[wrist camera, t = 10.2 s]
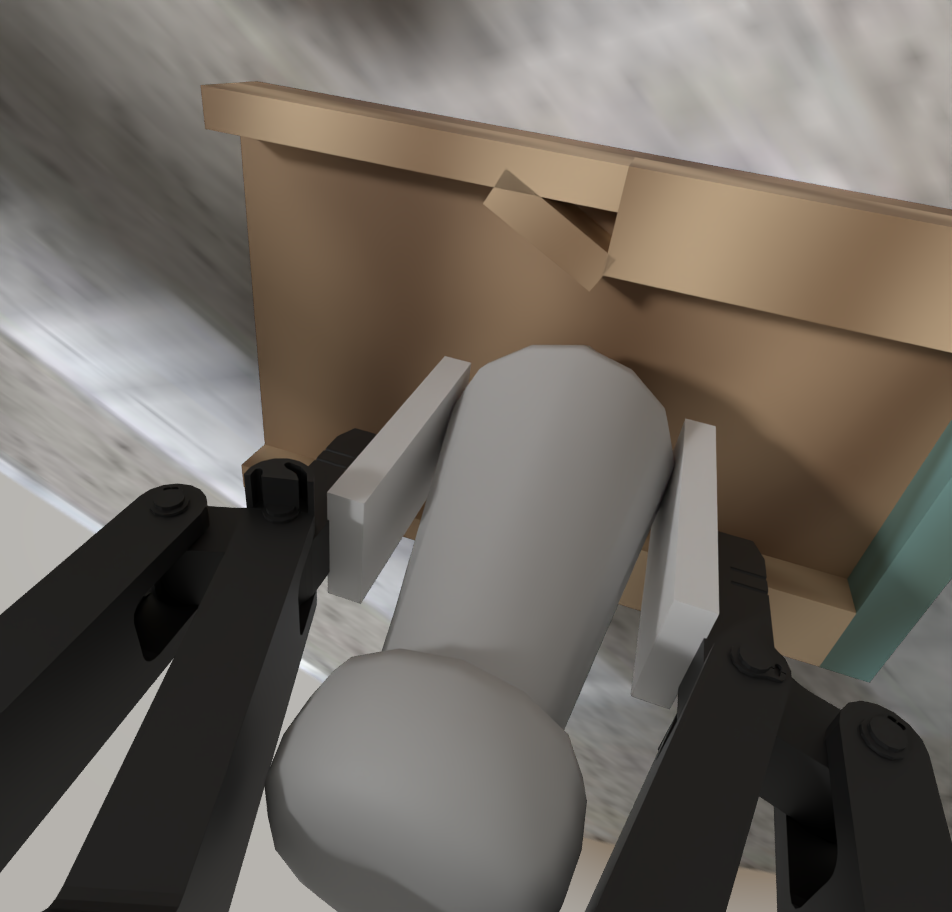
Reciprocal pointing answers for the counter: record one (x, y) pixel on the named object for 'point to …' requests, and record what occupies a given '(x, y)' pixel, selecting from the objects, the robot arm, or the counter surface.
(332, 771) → the salt shaker
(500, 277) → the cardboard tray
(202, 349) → the counter surface
